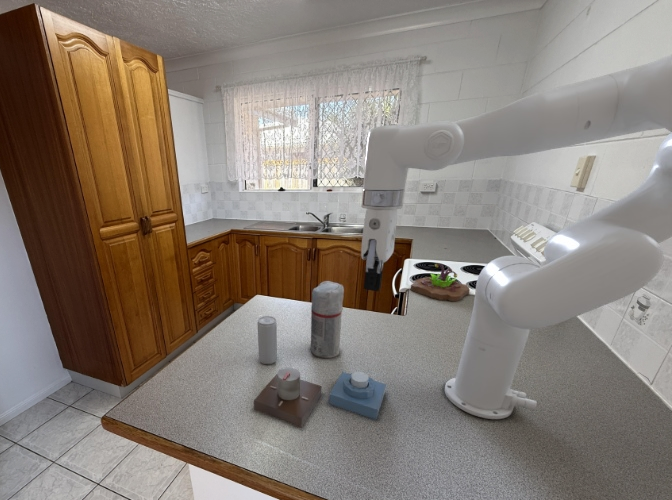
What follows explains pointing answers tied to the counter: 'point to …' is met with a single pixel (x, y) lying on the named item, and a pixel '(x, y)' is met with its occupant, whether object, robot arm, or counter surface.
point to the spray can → (326, 319)
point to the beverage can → (267, 339)
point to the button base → (358, 396)
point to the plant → (441, 286)
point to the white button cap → (359, 380)
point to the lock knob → (288, 383)
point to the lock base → (288, 402)
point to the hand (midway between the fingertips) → (372, 288)
